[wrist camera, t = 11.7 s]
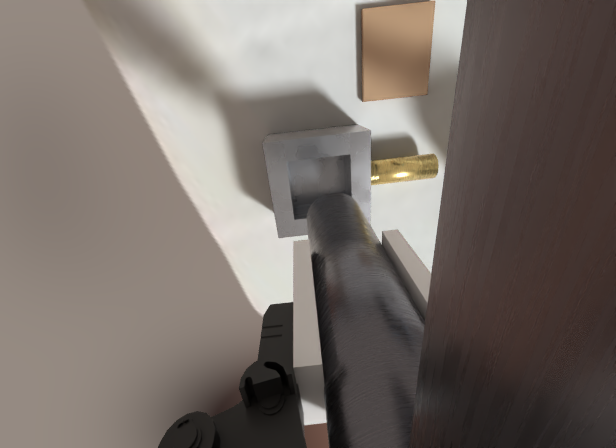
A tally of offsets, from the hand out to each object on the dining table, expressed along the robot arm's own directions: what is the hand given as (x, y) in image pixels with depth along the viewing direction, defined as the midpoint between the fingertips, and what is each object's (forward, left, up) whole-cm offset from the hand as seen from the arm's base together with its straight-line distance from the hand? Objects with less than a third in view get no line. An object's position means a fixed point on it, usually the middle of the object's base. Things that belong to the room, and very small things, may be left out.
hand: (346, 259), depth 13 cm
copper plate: (-10, +8, -17) cm, 21 cm away
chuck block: (0, +3, -17) cm, 17 cm away
